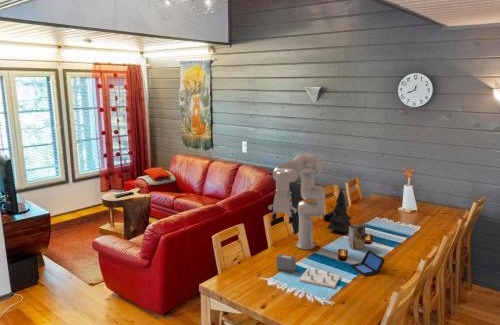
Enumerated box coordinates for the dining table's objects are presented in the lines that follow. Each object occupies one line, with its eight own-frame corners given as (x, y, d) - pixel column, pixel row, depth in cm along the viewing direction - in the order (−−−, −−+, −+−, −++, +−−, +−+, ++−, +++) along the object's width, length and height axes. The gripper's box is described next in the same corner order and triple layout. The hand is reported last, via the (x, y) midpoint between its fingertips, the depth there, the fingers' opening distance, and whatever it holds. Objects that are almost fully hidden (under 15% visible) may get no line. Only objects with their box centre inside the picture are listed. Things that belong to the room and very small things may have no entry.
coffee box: (359, 246, 272) (360, 223, 269) (364, 249, 266) (365, 226, 263) (347, 247, 270) (348, 225, 267) (352, 251, 264) (353, 228, 261)
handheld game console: (349, 267, 240) (350, 252, 239) (367, 263, 245) (368, 249, 243) (365, 278, 226) (366, 263, 224) (384, 274, 230) (385, 259, 229)
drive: (279, 266, 241) (279, 253, 240) (295, 269, 237) (295, 256, 236) (276, 269, 237) (276, 256, 236) (292, 272, 233) (292, 259, 231)
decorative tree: (345, 237, 287) (347, 191, 281) (326, 233, 296) (327, 188, 289) (352, 232, 299) (354, 187, 293) (334, 228, 307) (336, 184, 301)
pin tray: (306, 271, 235) (306, 265, 234) (340, 277, 226) (340, 271, 225) (299, 281, 222) (299, 275, 222) (334, 288, 214) (334, 282, 213)
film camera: (339, 220, 328) (339, 209, 326) (342, 223, 318) (342, 213, 316) (321, 220, 327) (321, 209, 326) (323, 224, 318) (323, 213, 316)
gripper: (299, 192, 222) (298, 222, 225) (270, 189, 229) (270, 218, 232) (295, 196, 215) (294, 226, 218) (265, 192, 223) (265, 221, 226)
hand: (282, 221), depth 225 cm, fingers open, 9 cm apart
